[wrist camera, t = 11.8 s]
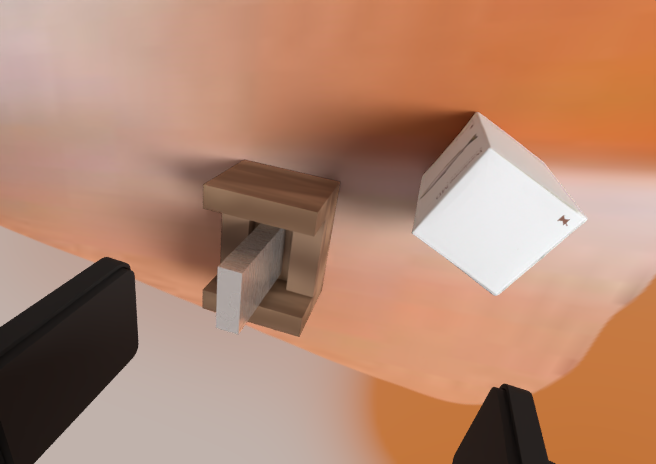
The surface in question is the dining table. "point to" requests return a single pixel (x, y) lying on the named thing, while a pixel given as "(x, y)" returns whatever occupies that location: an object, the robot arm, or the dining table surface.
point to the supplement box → (492, 206)
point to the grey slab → (248, 276)
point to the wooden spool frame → (283, 212)
